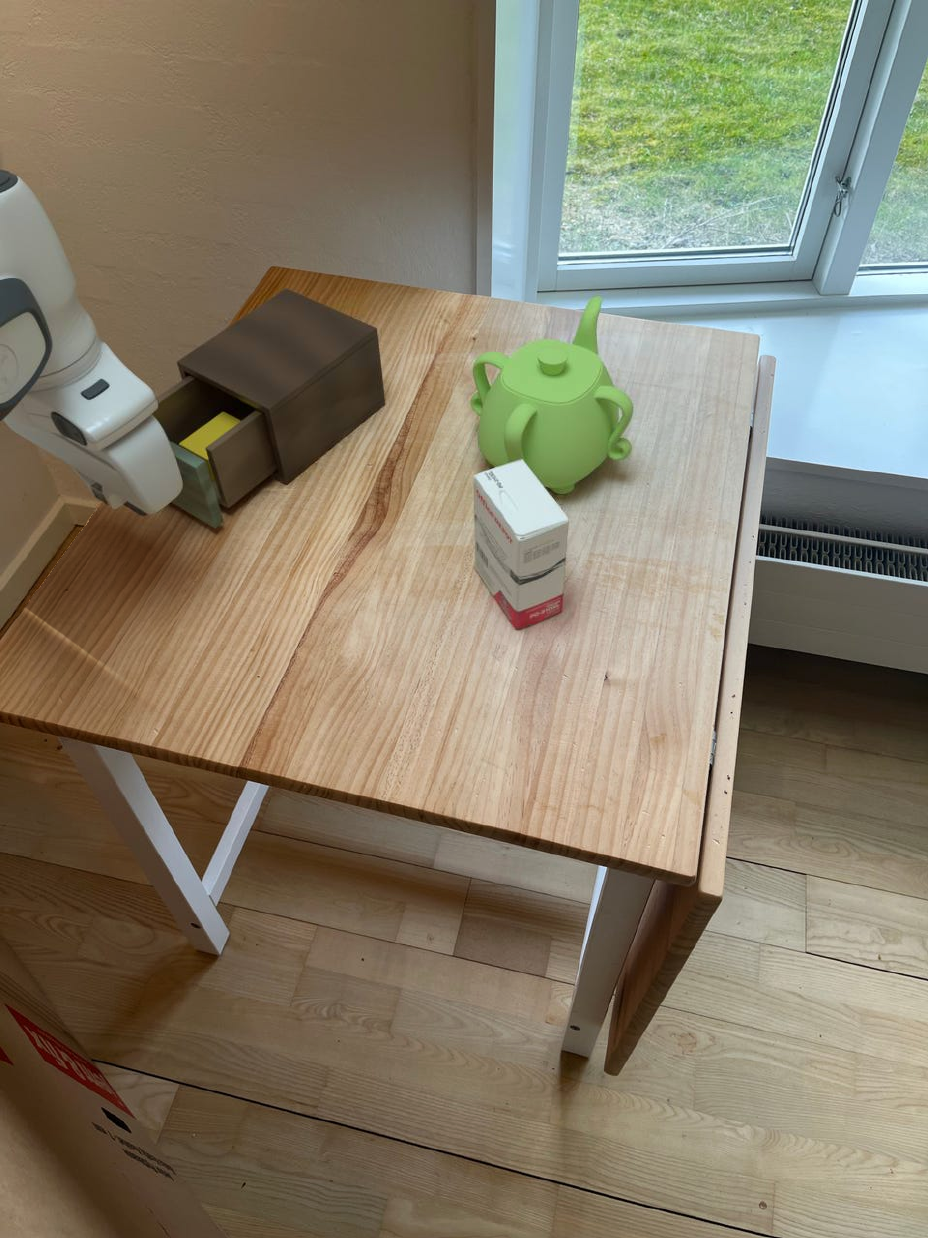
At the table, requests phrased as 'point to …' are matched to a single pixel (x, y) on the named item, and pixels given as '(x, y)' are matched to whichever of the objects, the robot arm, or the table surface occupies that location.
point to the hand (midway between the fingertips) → (111, 498)
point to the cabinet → (296, 374)
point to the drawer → (214, 448)
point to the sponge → (208, 437)
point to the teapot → (552, 407)
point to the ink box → (520, 543)
